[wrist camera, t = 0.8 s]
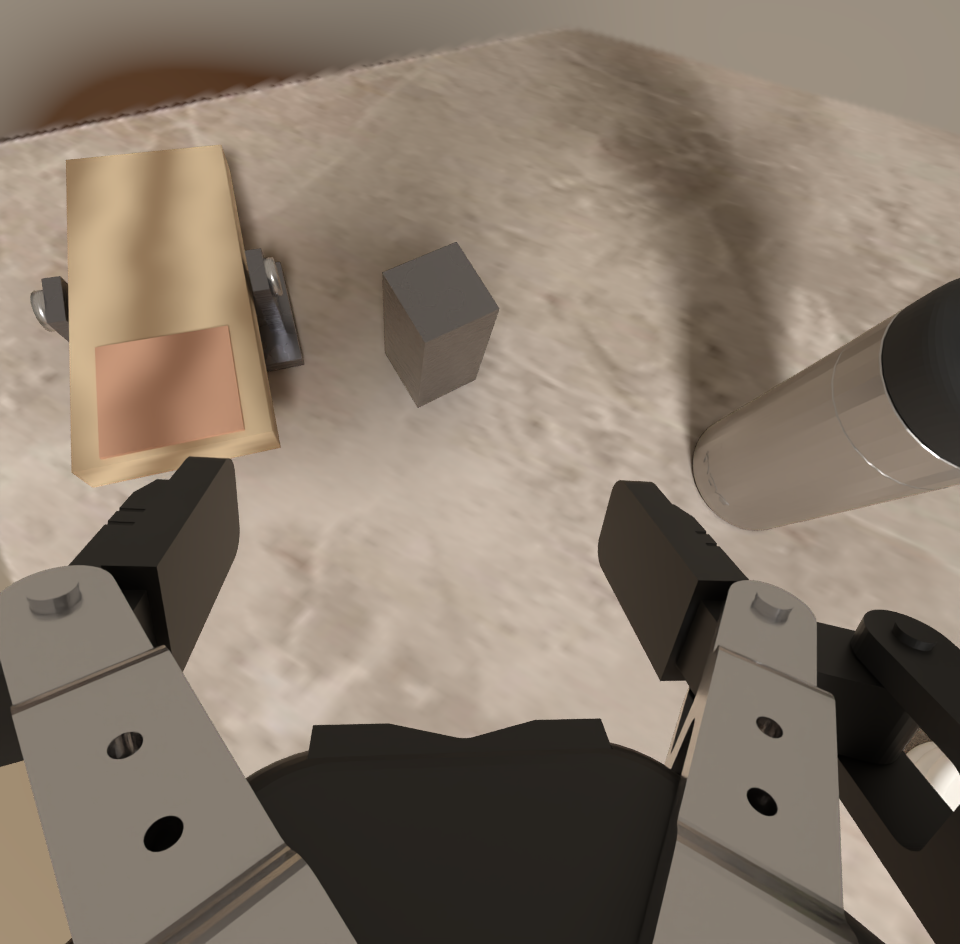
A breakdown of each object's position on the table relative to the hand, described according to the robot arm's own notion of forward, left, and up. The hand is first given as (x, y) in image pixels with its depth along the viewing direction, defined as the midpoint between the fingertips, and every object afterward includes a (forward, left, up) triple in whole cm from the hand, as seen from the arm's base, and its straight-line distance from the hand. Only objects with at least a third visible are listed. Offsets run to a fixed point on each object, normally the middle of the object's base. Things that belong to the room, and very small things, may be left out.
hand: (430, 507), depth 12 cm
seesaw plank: (+10, -21, -21) cm, 32 cm away
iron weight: (-6, -15, -26) cm, 31 cm away
